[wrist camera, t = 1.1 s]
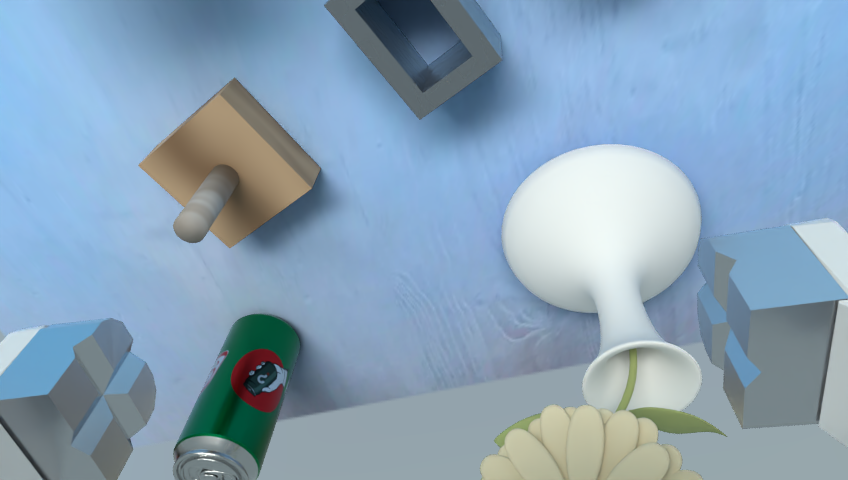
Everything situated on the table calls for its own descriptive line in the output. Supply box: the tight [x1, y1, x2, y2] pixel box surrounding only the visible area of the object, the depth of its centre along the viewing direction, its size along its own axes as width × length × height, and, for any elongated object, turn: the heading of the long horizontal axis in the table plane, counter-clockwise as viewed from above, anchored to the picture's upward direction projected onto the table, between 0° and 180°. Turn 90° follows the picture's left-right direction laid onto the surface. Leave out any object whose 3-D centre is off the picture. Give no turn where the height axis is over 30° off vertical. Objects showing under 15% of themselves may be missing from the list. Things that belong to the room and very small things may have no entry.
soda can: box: [173, 314, 300, 480], centre depth 42 cm, size 5×5×12 cm
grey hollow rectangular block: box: [324, 0, 502, 120], centre depth 32 cm, size 7×5×4 cm
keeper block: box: [138, 78, 321, 248], centre depth 36 cm, size 7×7×8 cm
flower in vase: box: [480, 144, 726, 480], centre depth 30 cm, size 13×11×25 cm
